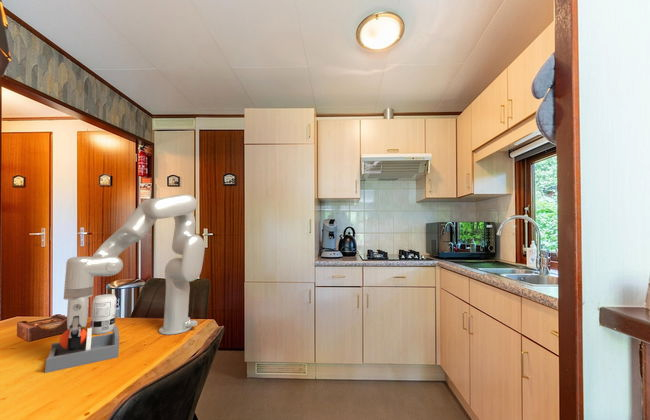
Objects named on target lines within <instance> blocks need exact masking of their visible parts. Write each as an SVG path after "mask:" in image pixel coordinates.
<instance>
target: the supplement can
mask: <svg viewBox="0 0 650 420" xmlns="http://www.w3.org/2000/svg"><path fill="white" fill-rule="evenodd" d="M117 300H118V298H117V296H116V294H112V293H107V294H99V295H96V296H94V298H93V300H92V303H91V304H92V306H91V318H90V326H89V328H92V335H105V334H109V333H110V332H113V327H115V326H116V313H117V311H116V310H117Z"/></svg>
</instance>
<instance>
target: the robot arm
mask: <svg viewBox="0 0 650 420" xmlns="http://www.w3.org/2000/svg"><path fill="white" fill-rule="evenodd" d="M197 207H198V202H197V199H196V198H195V196H193V195H191V194H187V193H185V194H174V195H171V196H166V197H156V198H155V197H154V198H147V199H145V200H143V201H142V202H141V203H140V204H139V205H138V206H137V208H135V210H134V211H133V212H132V213H131V215H130V216H129V217H128V218H127V219H126V221H125V222H124V223H123V225H121V227H119V228H118V229H117V230H116V231H115V232H114V233H112V235H110V236H109V237H108V238H106V240H105V241H104V242H103V243H102V244H101V245H100V246H99V248H98V249H97V250H96V251H95V252H94V253H93V255H92V256H72V257H69V258H68V259H67V261H66V264H65V265H66V266H65V275H64V277H65V278H64V288H63V300H67V309H66V310H67V313H66V314H67V315H66V324H67V325H66V327H67V330H70V333H69V338H68V346H67V351H71V350H76V349H80V344H81V336H80V332H81V328H82V327H84V328H86V327H87V325H88V313H89V302H90V300H89V298H91V297H93V292H94V281H95V277H112V276H115V275H118V274H119V273H120V272H121V271H122V270H123V268H124V263H123V260H122V259H121V258H120V257H119V256H120V255H121V254H122V253H123V251H125V250H126V249H127V248H129V247H130V246H131V245H133V244H136V243H137V242H138V243H139V242H140V241H141V240H142V239H144V237H145V236H146V235H147V233H148V232H149V231H150V229H151V228H152V227H153V225H154V224H155V222H156V221H157V220H161V219H163V220H164V219H169V218H173V219H174V232H173V237H172V244H171V248H172V251H173V253H175V254H177V255H181V257H175V258H172V259H170V260H169V261H168V262H167V263H166V266H165V268H164V278H165V299H164V314H163V326H161V327H160V328H159V329H158V332H159V334H161V335H177V334H183V333H185V332H188V331H190V330H191V329H192V327H197V325H198V321H197V320H196V319H195V320H191V317H189V305H190V290H191V286H190V285H191V284H190V282H195V280H197V279H198V278H199V277H200V276H201V273H202V269H203V266H204V265H203V263H204V257H205V251H206V250H205V249H206V247H205V246H206V245H205V241H204V239H203V238H202V237H201V236H200V235H199V234H198V235H197V234H196V227H197V226H196V218H195V216H194V211H195V210H196V209H197ZM78 326H80V327H78ZM78 330H79V331H78Z"/></svg>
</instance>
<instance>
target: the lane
mask: <svg viewBox="0 0 650 420" xmlns="http://www.w3.org/2000/svg"><path fill="white" fill-rule="evenodd" d="M86 341H87V338H86V340H85V342H84V343H83V344H82V345H81V346H80V349H76V350H71V351H67V349H65V348H63V347H62V346H61V345H60V341H59V342H54V343H52V344H51V349H50V352H49V354H48V357H46V360H45V361H46V362H45V370H44V373H45V374H46V373H51V372H55V371H61V370H65V369H70V368H74V367H79V366H83V365H88V364H92V363H98V362H102V361H107V360H111V359H117V358H119V353H120V351H119V350H120V332H119V326H118V325H115V327H113V330H112V332H111V333H105V334H99V335H95V336H92V337H91V349H90V350H86Z"/></svg>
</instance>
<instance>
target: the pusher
mask: <svg viewBox="0 0 650 420" xmlns="http://www.w3.org/2000/svg"><path fill="white" fill-rule="evenodd" d="M86 333H87V341H86V350H90V349H91V337H93V336H92V335H93V334H92V328H90V327H87V331H86Z"/></svg>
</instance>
